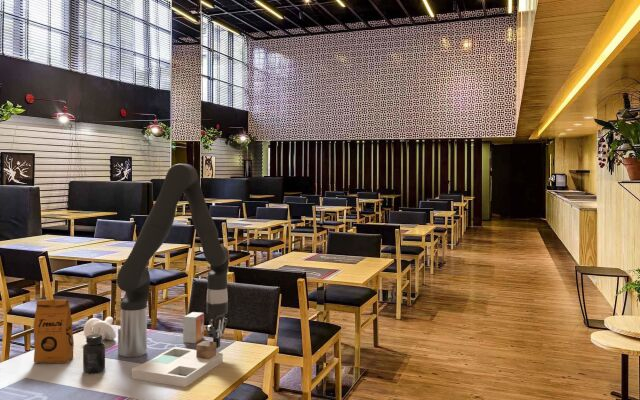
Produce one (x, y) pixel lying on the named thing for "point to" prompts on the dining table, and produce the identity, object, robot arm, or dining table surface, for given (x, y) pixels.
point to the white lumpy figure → (100, 328)
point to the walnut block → (206, 350)
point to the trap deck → (176, 367)
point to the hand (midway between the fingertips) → (216, 347)
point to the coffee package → (53, 332)
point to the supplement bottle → (94, 354)
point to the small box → (193, 327)
